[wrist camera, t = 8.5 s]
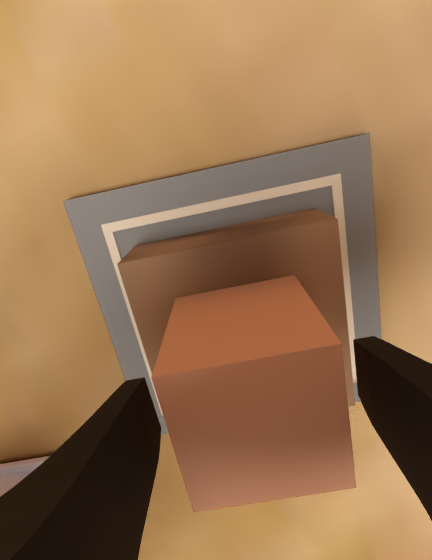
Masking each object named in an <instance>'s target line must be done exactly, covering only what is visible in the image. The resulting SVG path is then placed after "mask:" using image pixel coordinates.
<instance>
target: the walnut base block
mask: <svg viewBox="0 0 432 560" xmlns="http://www.w3.org/2000/svg"><path fill="white" fill-rule="evenodd" d="M117 266H118V269H119V272H120V275H121V278H122V282H123V285H124V288H125V291H126V294H127V297H128V300H129V304H130V307H131V310H132V313H133V316H134V319H135V322H136V326H137V329H138V332H139V335H140V338H141V341H142V345H143V348H144V351H145V354H146V357H147V360H148V363H149V367H150V370H151V373H153V370H154V367H155V364H156V360H157V357H158V354H159V350H160V347H161V344H162V341H163V337H164V334H165V331H166V327H167V324H168V321H169V318H170V314H171V311H172V308H173V304H174V301H175V298H179V297H184V296H189V295H194V294H200V293H205V292H210V291H215V290H220V289H225V288H230V287H236V286H241V285H246V284H251V283H256V282H261V281H266V280H272V279H277V278H282V277H287V276H292V275H295V277H296V278H297V279H298V281H299V282H300V284H301V285H302V287H303V288H304V290H305V291H306V292H307V294H308V295H309V297H310V298H311V300H312V301H313V303H314V304H315V305H316V307H317V308H318V310H319V311H320V313H321V314H322V316H323V317H324V318H325V320H326V321H327V323H328V324H329V326H330V327H331V329H332V330H333V332H334V333H335V334H336V336H337V337H338V339H339V340H340V342H341V343H342V350H343V360H344V370H345V380H346V390H347V400H348V406H352V405H355V398H354V387H353V376H352V365H351V355H350V344H349V333H348V322H347V312H346V301H345V290H344V279H343V268H342V258H341V247H340V236H339V225H338V219H337V218H335V217H333V216H331V215H329V214H326V213H324V212H322V211H320V210H318V209H316V208H312V209H307V210H302V211H297V212H293V213H288V214H283V215H278V216H273V217H269V218H264V219H259V220H254V221H249V222H245V223H240V224H235V225H230V226H225V227H221V228H216V229H211V230H206V231H202V232H197V233H192V234H187V235H182V236H178V237H173V238H168V239H163V240H158V241H154V242H149V243H144V244H139V245H135V246H134V247H133V248H132V249H131V250H130V251H129V252H128V254H127V255H126V256H125V257H124V258H123V259H122V260H121V261H120V262H119V263H118V264H117Z"/></svg>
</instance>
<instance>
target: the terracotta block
mask: <svg viewBox="0 0 432 560" xmlns="http://www.w3.org/2000/svg"><path fill="white" fill-rule="evenodd" d="M151 379H152V382H153V385H154V388H155V391H156V394H157V398H158V401H159V404H160V407H161V410H162V413H163V416H164V420H165V423H166V426H167V429H168V432H169V435H170V438H171V442H172V445H173V448H174V451H175V454H176V457H177V460H178V464H179V467H180V470H181V473H182V476H183V479H184V482H185V486H186V489H187V492H188V495H189V498H190V501H191V504H192V508H193V511H194V512H198V511H204V510H211V509H218V508H224V507H231V506H238V505H244V504H251V503H258V502H265V501H271V500H278V499H285V498H291V497H298V496H305V495H311V494H318V493H325V492H331V491H338V490H345V489H351V488H356V481H355V471H354V461H353V451H352V440H351V430H350V420H349V410H348V400H347V390H346V380H345V370H344V360H343V350H342V343H341V342H340V340H339V339H338V337H337V336H336V334H335V333H334V332H333V330H332V329H331V327H330V326H329V324H328V323H327V321H326V320H325V318H324V317H323V316H322V314H321V313H320V311H319V310H318V308H317V307H316V305H315V304H314V303H313V301H312V300H311V298H310V297H309V295H308V294H307V292H306V291H305V290H304V288H303V287H302V285H301V284H300V282H299V281H298V279H297V278H296V277H295V275H292V276H287V277H282V278H277V279H272V280H266V281H261V282H256V283H251V284H246V285H241V286H236V287H230V288H225V289H220V290H215V291H210V292H205V293H200V294H194V295H189V296H184V297H179V298H175V301H174V304H173V308H172V311H171V314H170V318H169V321H168V324H167V327H166V331H165V334H164V337H163V341H162V344H161V347H160V350H159V354H158V357H157V360H156V364H155V367H154V370H153V373H152V377H151Z"/></svg>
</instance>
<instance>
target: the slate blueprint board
mask: <svg viewBox="0 0 432 560" xmlns="http://www.w3.org/2000/svg"><path fill="white" fill-rule="evenodd" d="M63 202H64V205H65V208H66V211H67V214H68V217H69V219H70V222H71V225H72V228H73V231H74V234H75V237H76V240H77V242H78V245H79V248H80V251H81V254H82V257H83V260H84V262H85V265H86V268H87V271H88V274H89V277H90V280H91V282H92V285H93V288H94V291H95V294H96V297H97V300H98V303H99V305H100V308H101V311H102V314H103V317H104V320H105V323H106V325H107V328H108V331H109V334H110V337H111V340H112V343H113V346H114V348H115V351H116V354H117V357H118V360H119V363H120V366H121V368H122V371H123V374H124V377H125V380H132V379H137V378H143V377H145V379H146V383H147V386H148V389H149V392H150V395H151V398H152V401H153V404H154V407H155V410H156V413H157V416H158V419H159V422H160V425H161V434H167V433H169V432H168V429H167V426H166V423H165V420H164V416H163V413H162V410H161V407H160V404H159V401H158V398H157V394H156V391H155V388H154V385H153V382H152V379H151V377H152V373H151V370H150V367H149V363H148V360H147V357H146V354H145V351H144V348H143V345H142V341H141V338H140V335H139V332H138V329H137V326H136V322H135V319H134V316H133V313H132V310H131V307H130V304H129V300H128V297H127V294H126V291H125V288H124V285H123V282H122V278H121V275H120V272H119V269H118V266H117V264H118V263H119V262H120V261H121V260H122V259H123V258H124V257H125V256H126V255H127V254H128V252H129V251H130V250H131V249H132V248H133V247H134V246H135V245H139V244H144V243H149V242H154V241H158V240H163V239H168V238H173V237H178V236H182V235H187V234H192V233H197V232H202V231H206V230H211V229H216V228H221V227H225V226H230V225H235V224H240V223H245V222H249V221H254V220H259V219H264V218H269V217H273V216H278V215H283V214H288V213H293V212H297V211H302V210H307V209H312V208H316V209H318V210H320V211H322V212H324V213H326V214H329V215H331V216H333V217H335V218H337V219H338V225H339V236H340V247H341V258H342V268H343V279H344V290H345V301H346V312H347V322H348V333H349V344H350V355H351V365H352V376H353V387H354V398H355V402H358V401H361V400H360V398H359V396H358V389H357V378H356V367H355V355H354V344H353V339H359V338H364V337H370V336H375V337H377V338H379V339H381V324H380V306H379V289H378V272H377V255H376V237H375V220H374V203H373V185H372V168H371V151H370V134H369V133H368V134H363V135H359V136H354V137H350V138H345V139H341V140H336V141H332V142H327V143H322V144H318V145H313V146H309V147H304V148H300V149H295V150H291V151H286V152H282V153H277V154H273V155H268V156H264V157H259V158H255V159H250V160H246V161H241V162H237V163H232V164H228V165H223V166H219V167H214V168H209V169H205V170H200V171H196V172H191V173H187V174H182V175H178V176H173V177H169V178H164V179H160V180H155V181H151V182H146V183H142V184H137V185H133V186H128V187H124V188H119V189H115V190H110V191H105V192H101V193H96V194H92V195H87V196H83V197H78V198H74V199H69V200H65V201H63Z"/></svg>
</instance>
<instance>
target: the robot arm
mask: <svg viewBox="0 0 432 560" xmlns="http://www.w3.org/2000/svg"><path fill="white" fill-rule="evenodd" d="M353 344H354V355H355V367H356V378H357V389H358V396H359V398H360V400H361V402H362V405H363V407H364V409H365V411H366V413H367V415H368V417H369V419H370V421H371V423H372V425H373V427H374V428H375V430H376V432H377V433H378V435H379V436H380V438H381V440H382V441H383V443H384V444H385V446H386V448H387V449H388V451H389V452H390V454H391V455H392V457H393V459H394V460H395V462H396V463H397V465H398V466H399V468H400V469H401V471H402V473H403V474H404V476H405V477H406V479H407V480H408V482H409V484H410V485H411V487H412V488H413V490H414V491H415V493H416V494H417V496H418V498H419V499H420V501H421V503H422V504H423V506H424V508H425V509H426V511H427V513H428V515H429V516H430V518H431V520H432V364H431V363H428V362H426V361H424V360H422V359H420V358H418V357H416V356H414V355H412V354H410V353H408V352H406V351H404V350H402V349H400V348H398V347H396V346H394V345H392V344H390V343H388V342H386V341H384V340H382V339H379V338H377V337H375V336H370V337H364V338H359V339H353ZM160 439H161V425H160V422H159V419H158V416H157V413H156V410H155V407H154V404H153V401H152V398H151V395H150V392H149V389H148V386H147V383H146V379H145V377H143V378H137V379H132V380H126V381H125V382H124V383H123V384H122V385H121V386H120V387H119V388H118V389H117V390H116V391H115V392H114V393H113V394H112V395H111V396H110V397H109V398H108V399H107V400H106V401H105V402H104V404H103V405H102V406H101V407H100V408H99V409H98V410H97V411H96V412H95V413H94V414H93V415H92V416H91V417H90V418H89V419H88V420H87V421H86V422H85V423H84V424H83V425H82V426H81V427H80V428H79V429H78V430H77V431H76V432H75V433H74V434H73V435H72V436H71V437H70V438H69V439H68V440H67V441H66V442H65V443H64V444H63V445H62V446H61V447H59V448H58V449H57V450H56V451H55V452H54V453H53V454H52V455H51V456H46V457H40V458H34V459H28V460H22V461H16V462H10V463H4V464H0V560H138V555H139V549H140V544H141V538H142V534H143V529H144V525H145V520H146V516H147V511H148V507H149V502H150V497H151V493H152V488H153V484H154V479H155V475H156V470H157V465H158V460H159V451H160Z"/></svg>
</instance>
